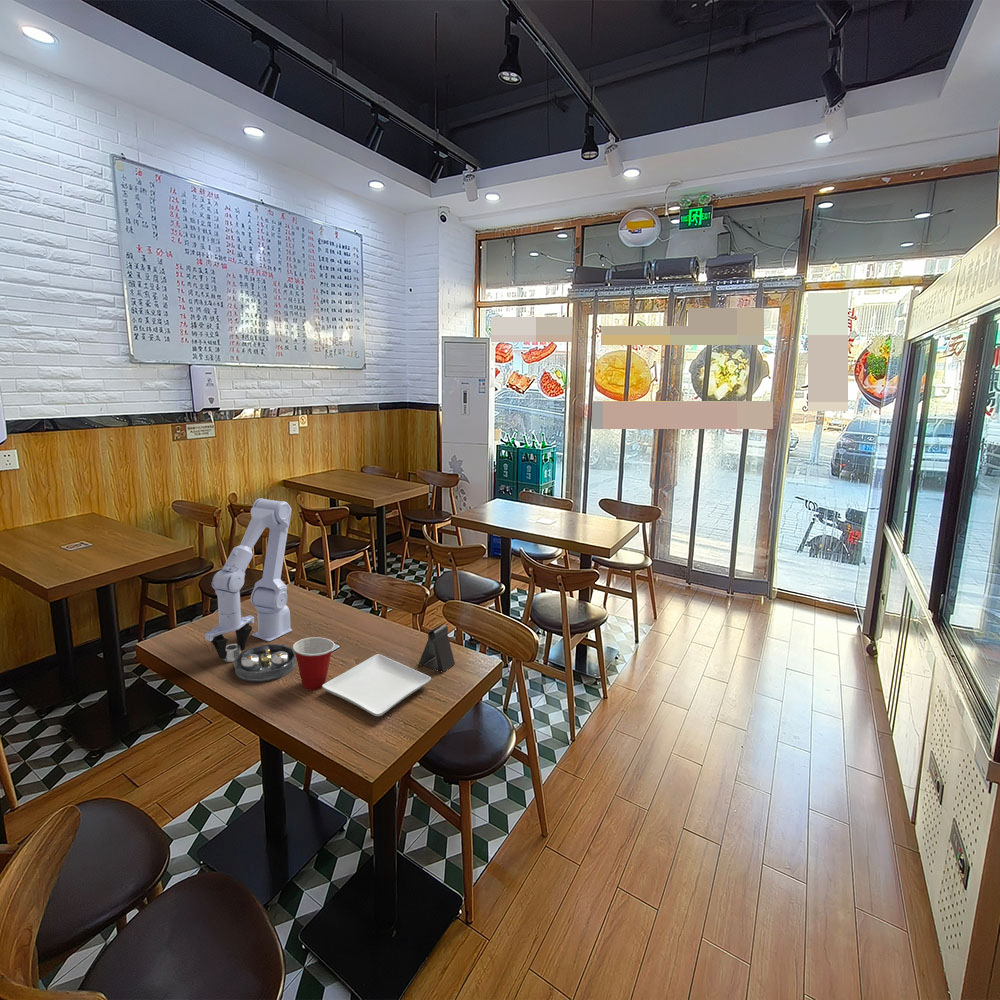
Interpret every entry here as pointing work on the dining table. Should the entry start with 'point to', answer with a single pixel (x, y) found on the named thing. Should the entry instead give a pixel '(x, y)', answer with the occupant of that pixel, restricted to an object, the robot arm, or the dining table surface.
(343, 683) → the salad plate
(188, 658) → the dining table surface
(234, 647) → the octagonal tube
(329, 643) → the plastic cup
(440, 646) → the phone stand
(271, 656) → the carrier
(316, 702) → the dining table surface
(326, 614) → the dining table surface
